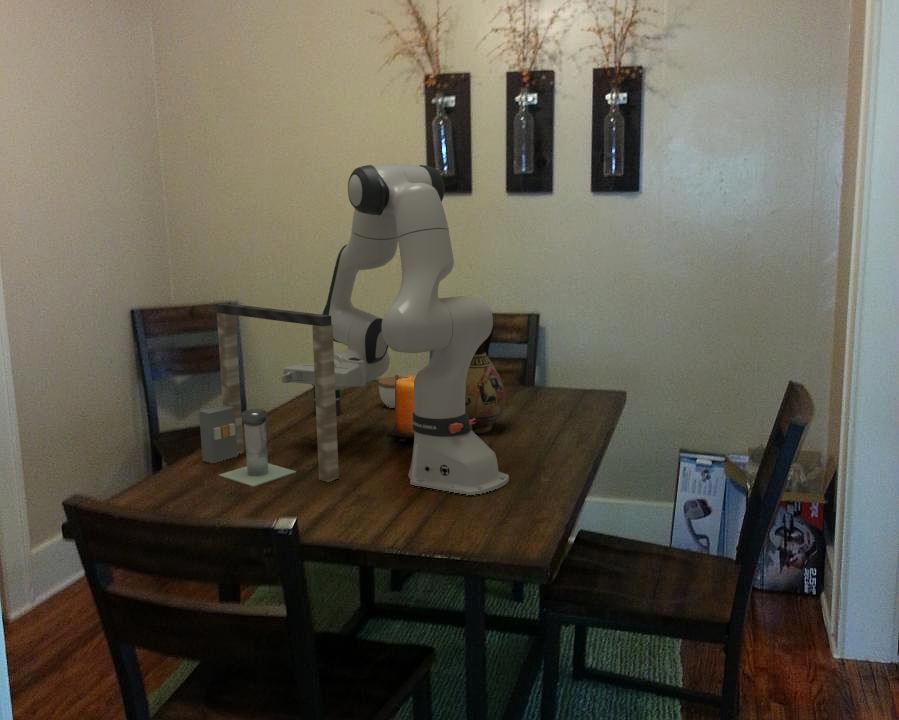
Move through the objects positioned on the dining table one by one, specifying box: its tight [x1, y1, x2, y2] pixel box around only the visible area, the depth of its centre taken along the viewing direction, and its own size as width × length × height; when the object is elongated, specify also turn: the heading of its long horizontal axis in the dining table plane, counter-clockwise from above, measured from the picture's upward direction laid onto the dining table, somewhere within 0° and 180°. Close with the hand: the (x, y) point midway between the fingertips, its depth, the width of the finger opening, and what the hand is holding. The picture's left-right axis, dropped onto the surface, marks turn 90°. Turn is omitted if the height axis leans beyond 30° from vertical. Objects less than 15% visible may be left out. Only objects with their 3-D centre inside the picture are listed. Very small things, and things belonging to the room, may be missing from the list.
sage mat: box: [218, 462, 297, 488], centre depth 197 cm, size 12×12×1 cm
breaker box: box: [198, 404, 239, 464], centre depth 208 cm, size 5×7×12 cm
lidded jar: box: [377, 374, 409, 409], centre depth 255 cm, size 11×11×9 cm
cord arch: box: [216, 302, 340, 483], centre depth 200 cm, size 36×3×36 cm, turn 50°
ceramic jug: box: [465, 319, 506, 434], centre depth 229 cm, size 17×15×30 cm
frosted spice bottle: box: [241, 408, 269, 476], centre depth 196 cm, size 5×5×14 cm
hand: (298, 380), depth 204 cm, fingers open, 8 cm apart
